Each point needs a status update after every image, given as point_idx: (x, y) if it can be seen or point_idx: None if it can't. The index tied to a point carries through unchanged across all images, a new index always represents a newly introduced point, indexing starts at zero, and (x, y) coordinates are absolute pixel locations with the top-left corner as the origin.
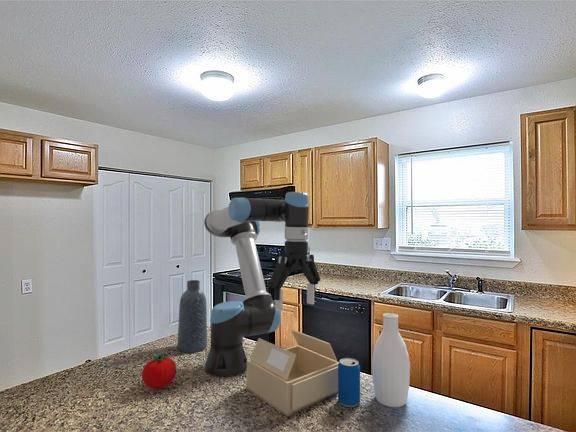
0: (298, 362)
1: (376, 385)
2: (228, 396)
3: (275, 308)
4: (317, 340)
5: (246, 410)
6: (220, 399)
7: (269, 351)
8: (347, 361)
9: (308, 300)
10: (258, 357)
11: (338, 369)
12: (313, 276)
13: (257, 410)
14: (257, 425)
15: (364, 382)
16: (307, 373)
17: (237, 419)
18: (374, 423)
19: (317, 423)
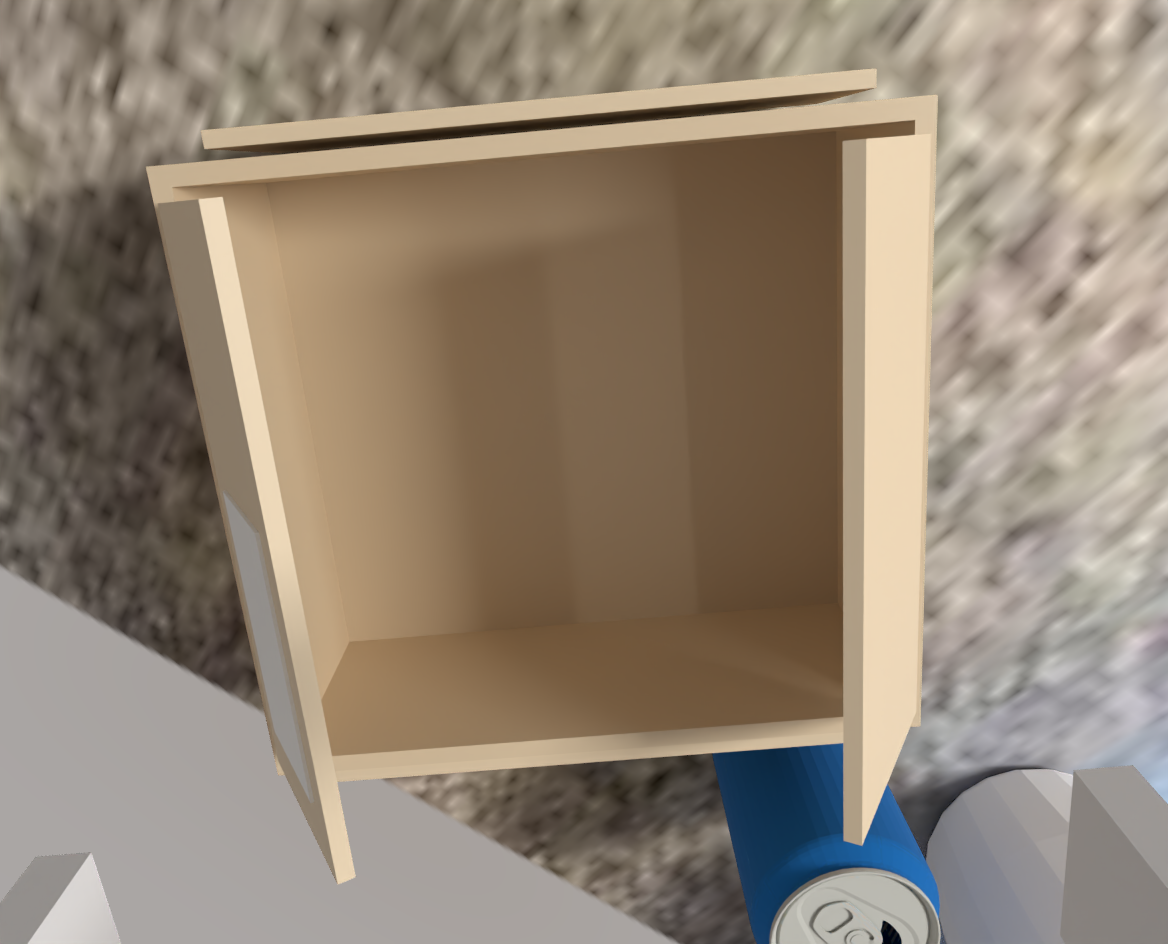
0: (857, 137)
1: (955, 906)
2: (75, 190)
3: (23, 889)
4: (845, 674)
5: (136, 447)
6: (2, 198)
7: (243, 493)
8: (857, 920)
9: (1112, 873)
10: (195, 338)
11: (759, 859)
12: None
13: (205, 488)
14: (140, 624)
15: (1106, 607)
16: (838, 273)
17: (46, 506)
18: (725, 934)
19: (461, 785)
